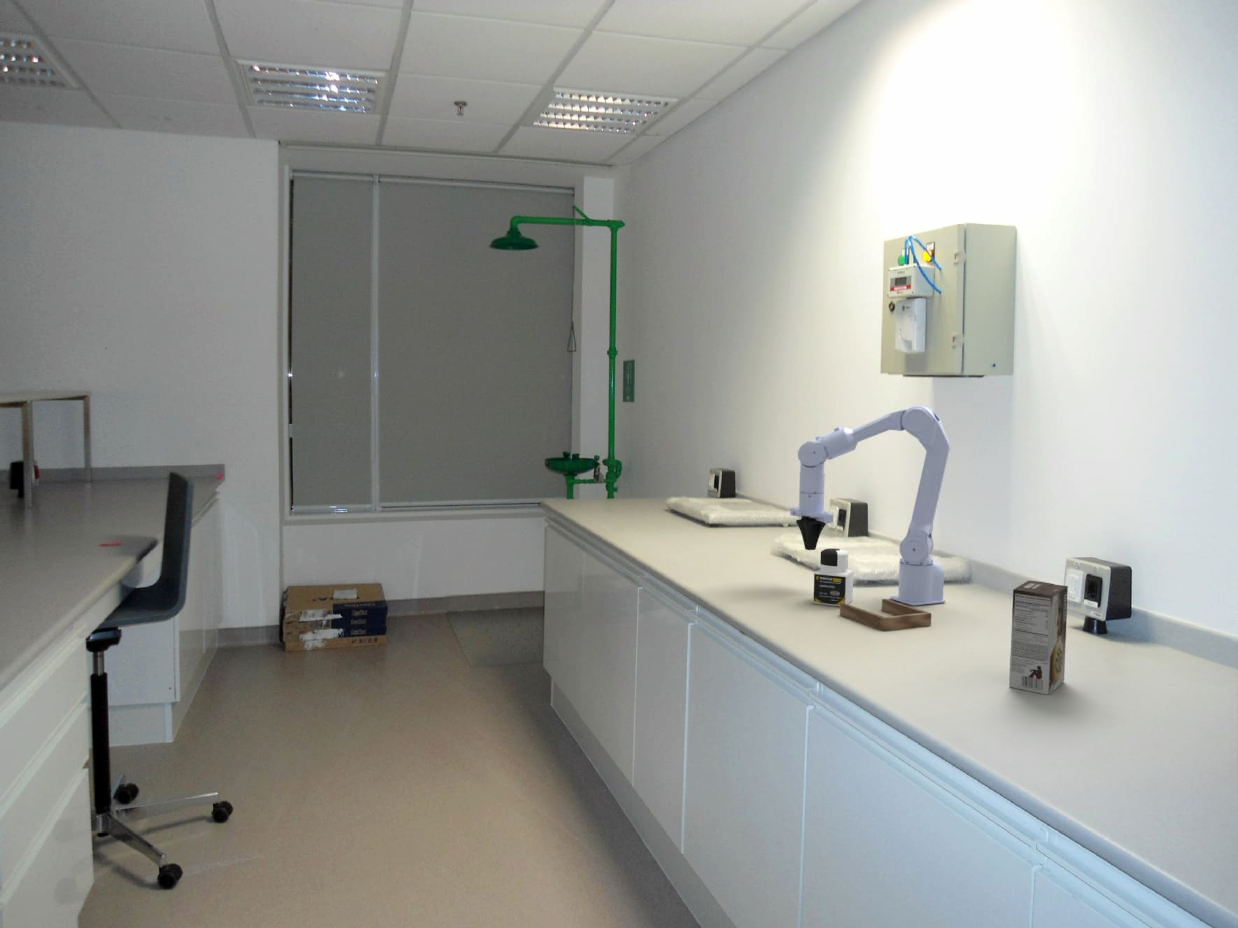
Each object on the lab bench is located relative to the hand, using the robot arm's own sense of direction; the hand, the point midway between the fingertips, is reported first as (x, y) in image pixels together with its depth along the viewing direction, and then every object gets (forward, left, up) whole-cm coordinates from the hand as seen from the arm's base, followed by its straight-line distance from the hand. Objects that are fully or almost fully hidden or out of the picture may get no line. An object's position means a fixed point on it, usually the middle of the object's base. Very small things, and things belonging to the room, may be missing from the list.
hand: (810, 549), depth 219 cm
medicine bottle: (+2, +12, -10) cm, 16 cm away
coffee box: (+7, +73, -10) cm, 74 cm away
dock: (+2, +29, -10) cm, 31 cm away
